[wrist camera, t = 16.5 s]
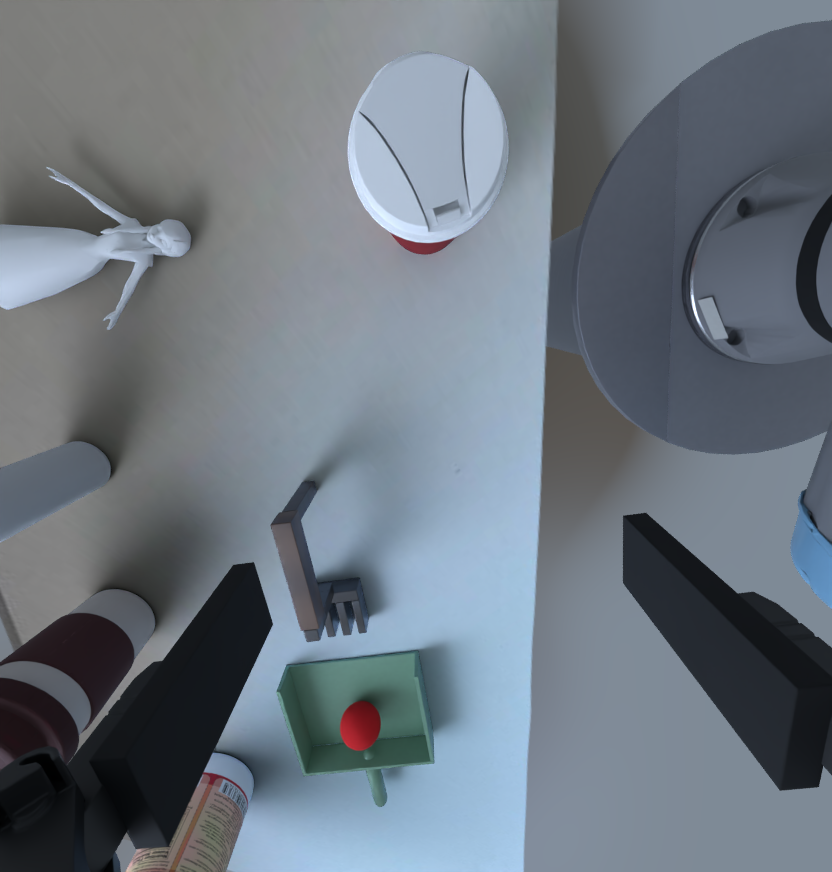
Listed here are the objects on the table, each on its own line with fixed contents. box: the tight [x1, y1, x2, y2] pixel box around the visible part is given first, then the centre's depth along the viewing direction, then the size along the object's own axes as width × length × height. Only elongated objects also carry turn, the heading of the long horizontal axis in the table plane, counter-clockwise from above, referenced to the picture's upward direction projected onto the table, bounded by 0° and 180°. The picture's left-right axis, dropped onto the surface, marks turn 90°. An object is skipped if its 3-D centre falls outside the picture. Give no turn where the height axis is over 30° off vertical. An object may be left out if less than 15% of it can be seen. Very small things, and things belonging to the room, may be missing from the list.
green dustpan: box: [276, 651, 434, 807], centre depth 45 cm, size 20×15×3 cm
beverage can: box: [0, 441, 111, 542], centre depth 32 cm, size 5×5×12 cm
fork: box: [271, 481, 369, 642], centre depth 36 cm, size 16×6×8 cm, turn 9°
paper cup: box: [348, 51, 509, 254], centre depth 25 cm, size 8×8×14 cm
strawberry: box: [340, 701, 381, 751], centre depth 44 cm, size 4×4×4 cm
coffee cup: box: [0, 589, 155, 770], centre depth 35 cm, size 10×10×15 cm
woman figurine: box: [0, 167, 191, 330], centre depth 31 cm, size 12×4×18 cm
